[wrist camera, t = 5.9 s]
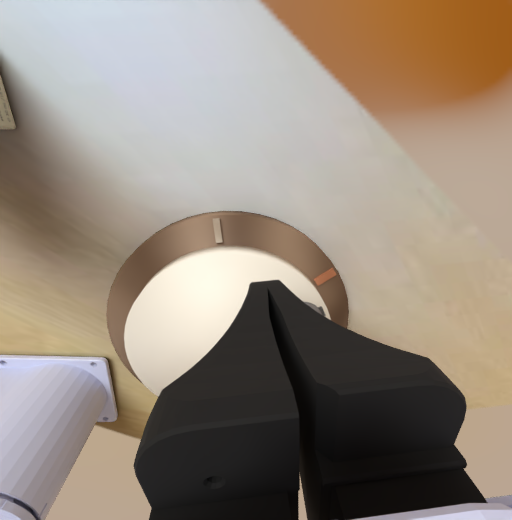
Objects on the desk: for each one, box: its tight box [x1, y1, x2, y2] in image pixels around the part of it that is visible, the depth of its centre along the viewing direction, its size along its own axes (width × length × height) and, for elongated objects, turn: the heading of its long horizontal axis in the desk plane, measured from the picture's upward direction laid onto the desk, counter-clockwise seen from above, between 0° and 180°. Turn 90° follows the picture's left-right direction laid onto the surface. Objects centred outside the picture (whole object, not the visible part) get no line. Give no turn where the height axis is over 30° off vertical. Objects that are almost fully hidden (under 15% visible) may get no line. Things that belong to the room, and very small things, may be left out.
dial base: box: [107, 211, 349, 383], centre depth 20 cm, size 19×19×1 cm
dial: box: [124, 246, 331, 397], centre depth 17 cm, size 15×15×5 cm
